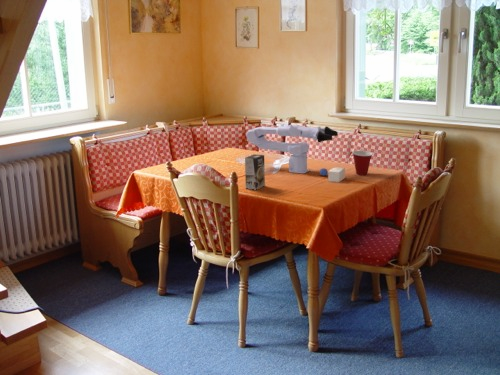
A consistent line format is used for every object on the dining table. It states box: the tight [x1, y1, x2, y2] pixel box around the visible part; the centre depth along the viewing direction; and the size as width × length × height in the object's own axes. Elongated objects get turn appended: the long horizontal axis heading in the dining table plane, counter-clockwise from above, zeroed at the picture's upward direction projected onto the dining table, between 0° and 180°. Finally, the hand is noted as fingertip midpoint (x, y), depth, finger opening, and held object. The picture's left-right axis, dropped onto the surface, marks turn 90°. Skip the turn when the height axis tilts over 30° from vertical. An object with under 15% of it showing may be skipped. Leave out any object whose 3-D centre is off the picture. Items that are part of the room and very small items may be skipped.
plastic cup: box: [351, 150, 374, 176], centre depth 330 cm, size 11×11×12 cm
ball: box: [319, 167, 328, 177], centre depth 330 cm, size 4×4×4 cm
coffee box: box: [244, 153, 266, 191], centre depth 311 cm, size 9×6×16 cm
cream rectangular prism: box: [327, 166, 346, 183], centre depth 322 cm, size 6×10×5 cm, turn 153°
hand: (334, 135), depth 326 cm, fingers open, 7 cm apart
